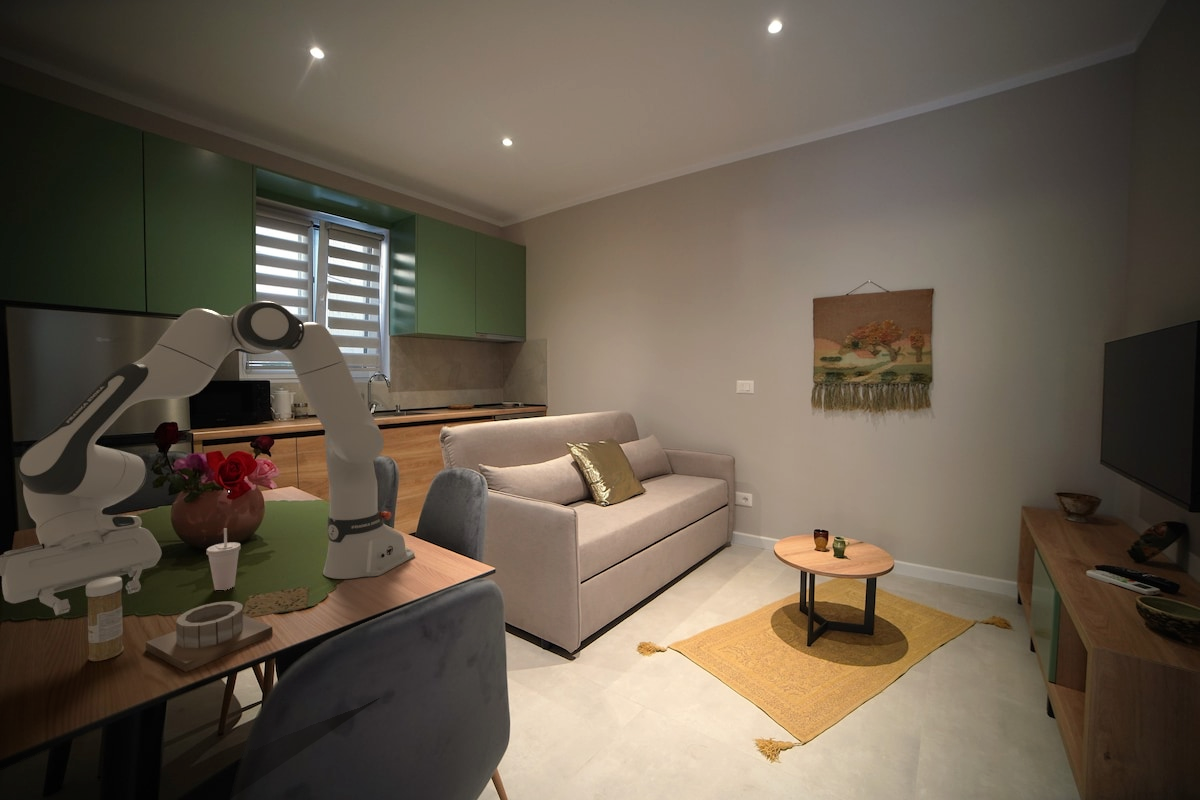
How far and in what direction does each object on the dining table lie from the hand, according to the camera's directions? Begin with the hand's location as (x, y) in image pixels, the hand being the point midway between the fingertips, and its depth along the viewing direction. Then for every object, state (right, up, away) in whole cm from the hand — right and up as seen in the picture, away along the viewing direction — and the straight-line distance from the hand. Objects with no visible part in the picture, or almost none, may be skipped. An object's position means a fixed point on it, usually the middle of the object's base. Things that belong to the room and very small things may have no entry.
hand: (101, 601), depth 89 cm
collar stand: (+16, -10, +5) cm, 19 cm away
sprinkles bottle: (+1, -10, 0) cm, 10 cm away
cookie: (+18, -9, +21) cm, 29 cm away
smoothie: (+1, -8, +28) cm, 29 cm away
